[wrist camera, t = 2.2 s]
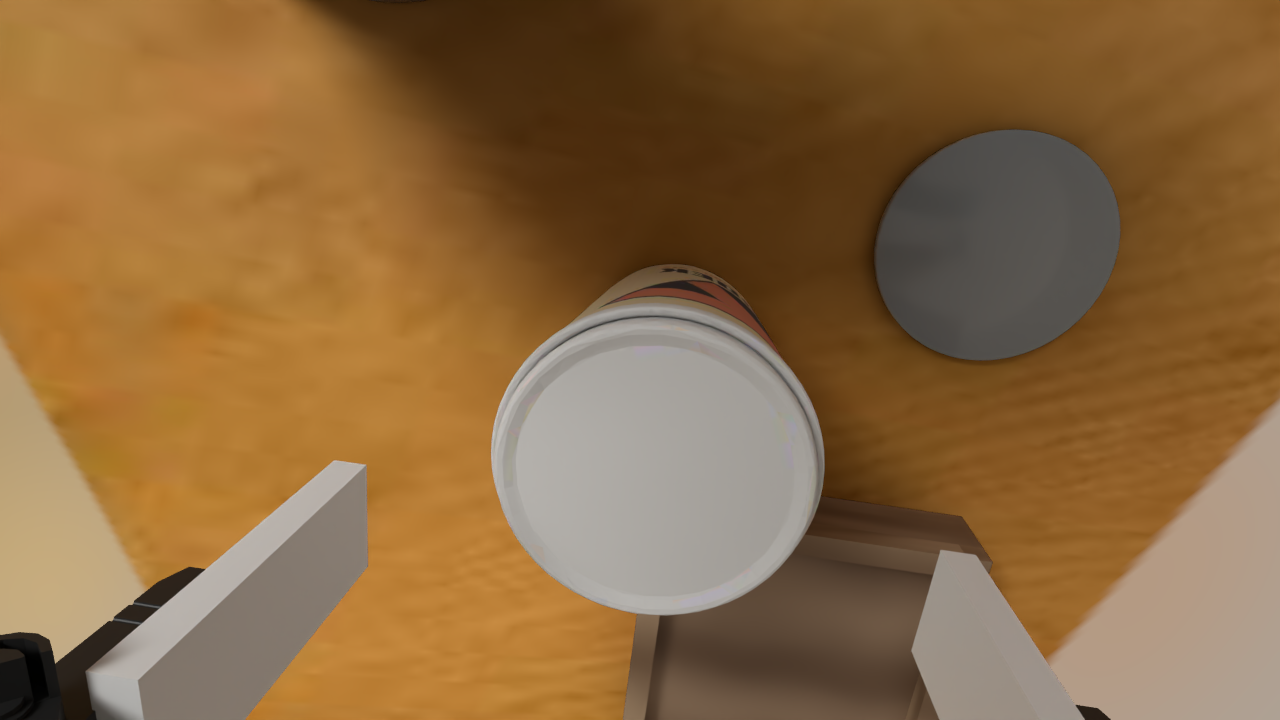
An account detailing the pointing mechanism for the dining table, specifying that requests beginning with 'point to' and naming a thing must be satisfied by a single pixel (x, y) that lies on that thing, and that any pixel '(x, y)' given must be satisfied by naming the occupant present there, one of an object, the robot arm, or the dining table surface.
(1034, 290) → the slate coaster
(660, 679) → the square wooden tray
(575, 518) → the coffee cup
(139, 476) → the dining table surface
